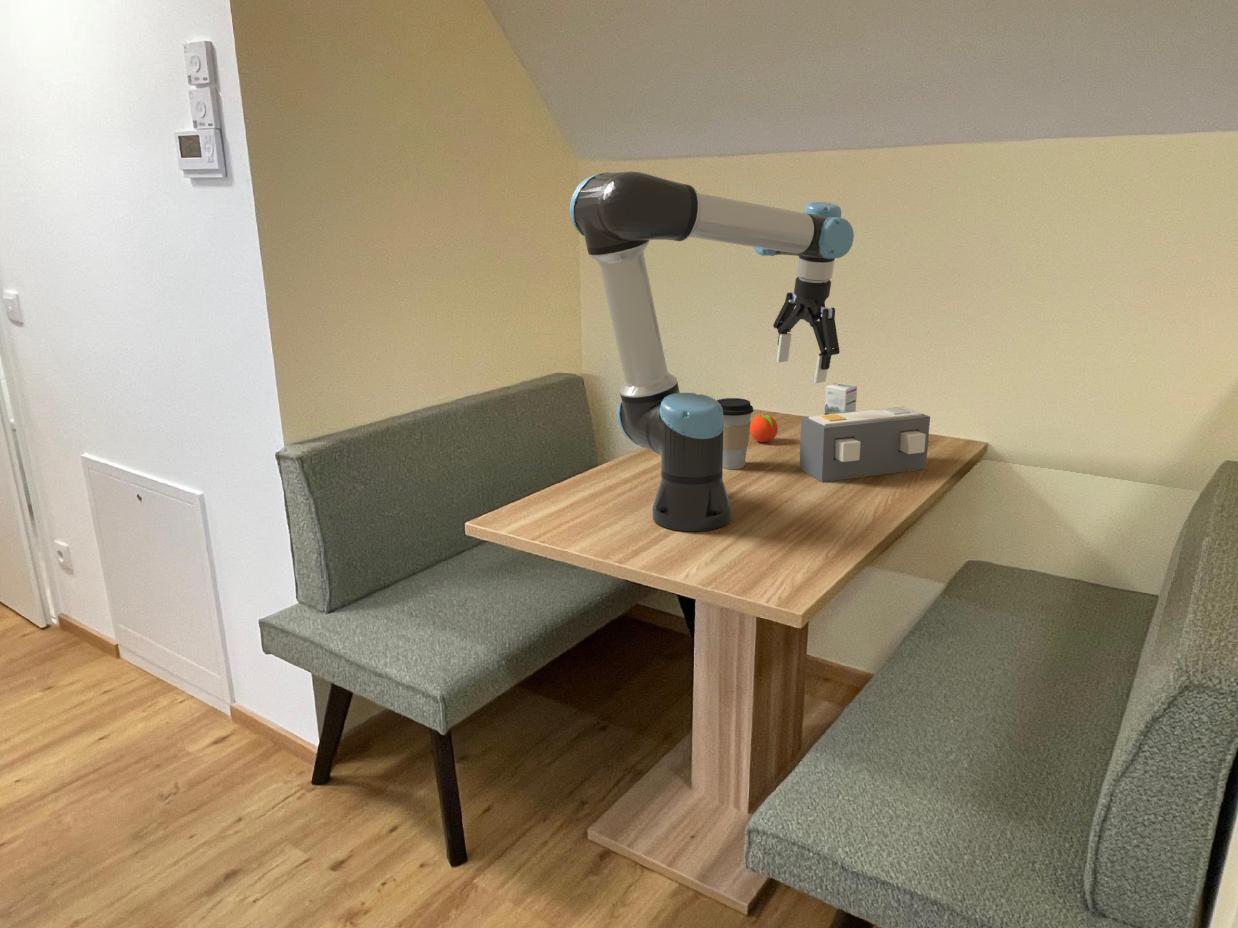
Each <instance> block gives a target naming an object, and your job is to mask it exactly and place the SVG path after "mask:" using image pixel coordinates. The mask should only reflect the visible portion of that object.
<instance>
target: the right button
mask: <svg viewBox="0 0 1238 928" xmlns="http://www.w3.org/2000/svg"><path fill="white" fill-rule="evenodd" d="M925 438H926V434H923V433H921V432H918V431H916V430H907V431H900V439H899V450H900V451H902V452H905V453H907V454H914V453H922V452H924V450H925Z"/></svg>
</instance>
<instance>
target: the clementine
mask: <svg viewBox="0 0 1238 928" xmlns="http://www.w3.org/2000/svg"><path fill="white" fill-rule="evenodd" d="M750 422H751V424H750V432H749V434H750V435H751V436H752V438H753V439H754V440H755V441H757V442H760V443H768V442H771V441H772V440H774V439H775V437H776V435H777V434H778V429H779V427H778V423H777V421H776V419H775V418H774V417H772V416H771V415H768V414H764V413H763V414H759V415H757V416H755V417H754V418H753V419H752V420H751V421H750Z"/></svg>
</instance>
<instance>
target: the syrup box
mask: <svg viewBox="0 0 1238 928" xmlns="http://www.w3.org/2000/svg"><path fill="white" fill-rule="evenodd" d="M824 393H825V395H824V396H825V397H824V398H825V399H824V414H823V415H828V414H838V413H847V412H857V410H856V409H857V395H858V386H857V385H853V384H847V383H846V384H845V383H838V382H836V383H831V384H828V385H827V386H825V392H824Z"/></svg>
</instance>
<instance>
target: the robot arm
mask: <svg viewBox="0 0 1238 928" xmlns="http://www.w3.org/2000/svg"><path fill="white" fill-rule="evenodd" d="M571 195H572V196H571V199H570V204H569V215H570V220H571V222H572V225H573V226H574V228H575V230H576V231H578V233H579V234H580V235H582V237H584V239H585V241H584V242H585V245H586V248H587V252H588V253H587V254H588V257H590V258H592V259H593V260H595V261H596V262H597V263H598V264H599V270H600V274H601V278H602V283H603V286H604V287H603V288H604V291H605V292H604V293H605V295H606V301H607V306H608V310H609V314H610V319H611V323H612V327H613V332H614V336H615V341H616V346H617V350H618V355H619V359H620V360H619V361H620V363H621V367H622V372H623V377H624V383H623V384H622V385H621V388H620V389H619V394H620V402H619V404H618V405H617V410H616V418H617V424H618V426H619V428H620V430H621V433H623V435H624V436H626V438H628V439H629V440H631V442H633V443H634V444H636V445H638V446H639V447H642V448H645V449H648V450H649V451H651V452H654V453H656V454H658V455H660V463H661V467H660V468H661V469H660V470H661V471H660V472H661V473H660V475H661V479H660V483H659V486H658V490H657V491H656V494H655V495H656V496H655V498H654V500H653V501H654V502H653V505H652V520H653V521H654V522H655V523H656V525H659V526H661V527H663V528H666V529H670V530H673V531H674V530H675V531H680V532H681V531H682V532H702V531H704V532H705V531H711V530H715V529H720V528H722V527H724V526H726V525H728V524H729V523H730V522H731V520H732V506H731V501H730V498H729V496H728V492H727V489H726V486H725V483H724V477H723V469H724V468H723V428H724V419H723V409H722V407H721V405H720V403H719V402H718V401H716V400H717V399H715V398H714V397H711V396H708V395H706V394H697V393H695V392H680V388H679V387H680V386H679V383H678V379H677V377H676V376H675V375H673V374H672V373H670V372H669V371H668V368H667V362H666V358H665V352H664V349H663V343H662V338H661V332H660V328H659V323H658V318H657V313H656V307H655V303H654V298H653V292H652V289H651V288H652V287H651V283H650V278H649V274H648V268H647V263H646V259H645V253H644V252H645V250H646V249H647V247H648V245H649V243H650V241H651V240H660V241H661V240H665V241H674V242H684V241H686V240H687V239H689V238H695V239H700V240H708V241H713V242H720V243H728V244H732V245H739V246H745V247H746V246H747V247H751V248H753V249H754V251H755V252H756V254H758V255H759V256H763V257H766V256H767V257H768V256H770V257H774V256H779V255H780V256H793V257H795V256H796V257H798V259H797V265H796V272H795V274H796V275H797V277H796V278H795V283H794V290H793V291H792V292H787V293H786V297H785V300H784V303H783V305H782V307H781V309H780V310H779V312H778V315H777V317H776V318H775V320H774V322H773V324H772V326H773V329H776V330H777V333H778V337H777V338H778V339H777V354H776V360H775V361H776V363H785V362H789V355H790V347H791V341H792V333H791V332H792V329H793V328H794V327H795V326H796V325H797V324H798V322H800V320H802V321H805V322H806V323H809V326H810V327H811V328H812V330H813V333H814V336H815V339H816V342H817V346H818V348H819V351H820V352H819V353H818V354H817V357H816V358H817V359H816V364H815V371H814V376H813V378H814V379H813V383H814V384H820V383H825V382H826V381H827V376H828V371H829V369H830V365H831V359H832V356H835V355H839V354H840V351H841V350H840V346H839V339H838V332H837V325H836V320H835V319H836V318H835V317H836V308H835V307H826V301H827V299H828V298H829V297H830V292H831V287H832V281H831V279H832V278H833V272H834V267H835V266H834V265H835V259H840V258H843V257H844V256H846V255H847V254H848V253H849V252H850V251H851V248H852V247H853V243H854V238H855V237H854V236H855V235H854V228H853V226H852V224H851V223H850V222H849V221H848V220H847V219H845V218H843V217H842V209H841V207H840V206H839V205H837V204H835V203H831V202H823V201H812V202H808V203H807V204H806V205H805V207H804V211H803V212H801V211H795V210H790V209H786V208H785V209H783V208H780V207H775V206H774V207H773V206H771V205H770V206H769V205H763V204H758V203H754V202H753V203H752V202H748V201H742V200H737V199H732V198H727V197H722V196H716V195H710V194H705V193H700V192H698V191H697V189H696V188H695V187H694V186H693V185H690V184H687V183H686V184H685V183H680V182H676V181H673V180H669V179H666V178H663V177H658V176H655V175H652V174H648V173H644V172H641V171H640V172H639V171H624V172H623V171H622V172H603V173H598V174H594V175H591V176H589V177H586V178H585V179H584V180H582V181H581V182H580V183H579V184H578V185H577V186H576V188H575V190H574V192H573V193H572V194H571Z"/></svg>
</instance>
